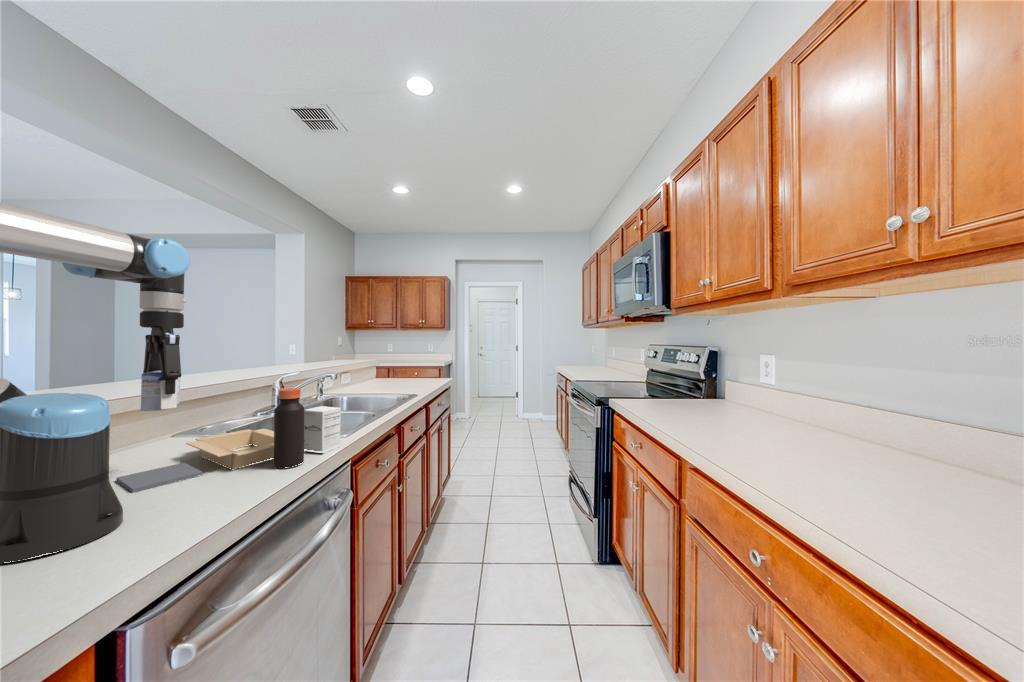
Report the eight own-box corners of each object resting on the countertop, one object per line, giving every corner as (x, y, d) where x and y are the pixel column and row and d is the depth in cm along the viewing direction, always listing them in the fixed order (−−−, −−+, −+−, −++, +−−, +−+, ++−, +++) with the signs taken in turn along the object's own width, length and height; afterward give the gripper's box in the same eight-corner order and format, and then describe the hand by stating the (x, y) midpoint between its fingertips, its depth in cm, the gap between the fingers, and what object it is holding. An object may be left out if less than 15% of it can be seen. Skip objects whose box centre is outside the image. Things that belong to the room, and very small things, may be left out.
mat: (202, 475, 87) (202, 471, 87) (132, 492, 77) (132, 488, 77) (183, 465, 94) (183, 462, 94) (116, 480, 83) (116, 477, 83)
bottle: (309, 461, 98) (310, 388, 98) (291, 470, 91) (292, 391, 91) (286, 460, 99) (287, 387, 99) (267, 468, 92) (267, 390, 92)
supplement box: (301, 452, 105) (302, 409, 105) (321, 445, 113) (322, 405, 113) (321, 455, 103) (322, 411, 103) (341, 447, 110) (341, 406, 110)
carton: (304, 454, 103) (304, 439, 103) (223, 476, 87) (223, 457, 87) (259, 440, 117) (259, 427, 117) (181, 457, 100) (181, 441, 100)
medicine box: (156, 405, 88) (157, 370, 88) (180, 404, 90) (180, 370, 90) (140, 411, 81) (140, 373, 81) (166, 410, 83) (166, 372, 83)
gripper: (200, 310, 83) (199, 408, 83) (167, 313, 94) (166, 399, 94) (156, 308, 77) (155, 413, 77) (126, 311, 88) (125, 403, 88)
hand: (161, 406), depth 85 cm, fingers closed on medicine box, 9 cm apart
